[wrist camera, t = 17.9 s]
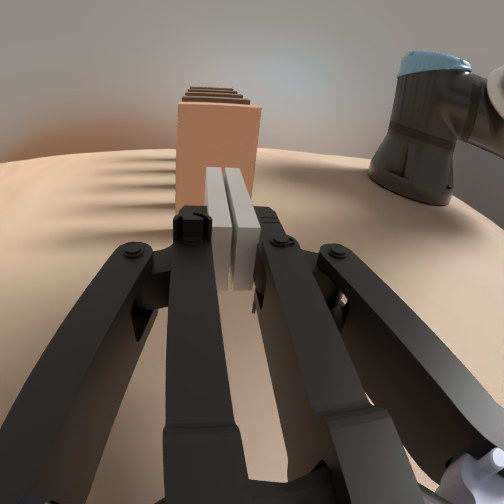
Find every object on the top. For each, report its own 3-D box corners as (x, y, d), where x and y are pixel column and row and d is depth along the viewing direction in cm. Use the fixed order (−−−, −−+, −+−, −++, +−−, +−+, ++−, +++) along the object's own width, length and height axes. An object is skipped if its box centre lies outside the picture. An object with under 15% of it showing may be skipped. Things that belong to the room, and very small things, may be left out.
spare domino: (176, 228, 28) (179, 101, 22) (244, 229, 29) (257, 105, 23) (175, 237, 26) (178, 103, 21) (246, 238, 27) (261, 108, 22)
